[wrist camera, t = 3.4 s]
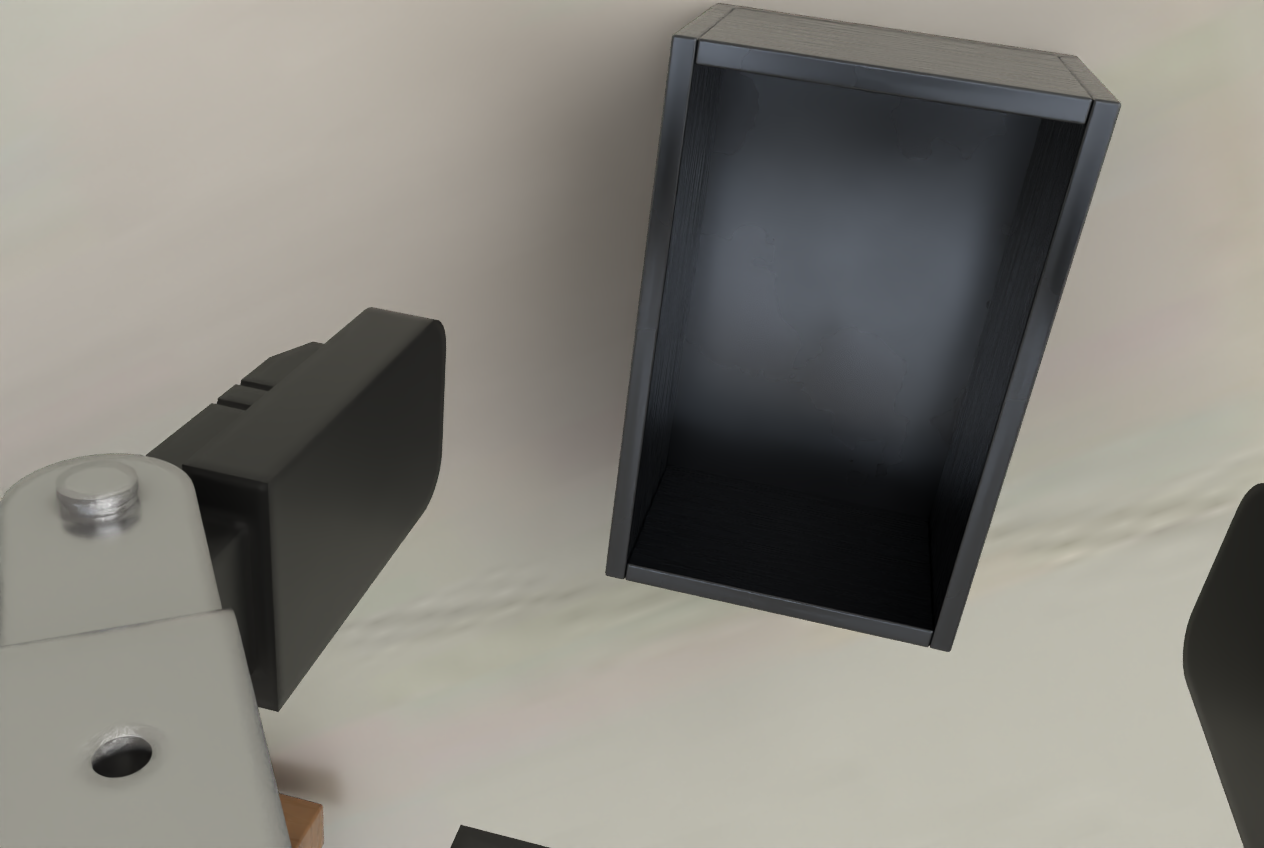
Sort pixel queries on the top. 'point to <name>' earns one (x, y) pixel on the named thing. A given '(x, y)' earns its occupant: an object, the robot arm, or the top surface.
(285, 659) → the robot arm
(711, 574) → the tray
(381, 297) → the top surface
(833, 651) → the top surface
